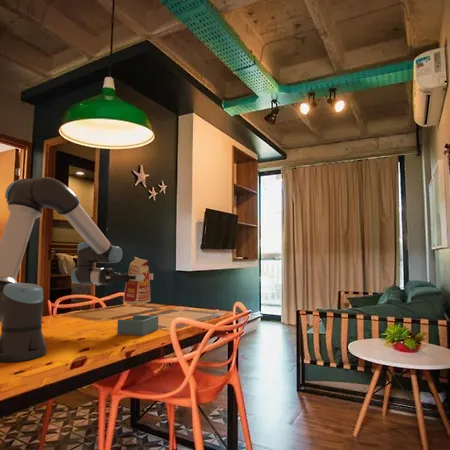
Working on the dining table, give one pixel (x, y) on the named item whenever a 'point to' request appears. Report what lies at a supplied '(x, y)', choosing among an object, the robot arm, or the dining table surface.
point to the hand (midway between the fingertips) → (148, 277)
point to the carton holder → (138, 325)
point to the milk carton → (138, 283)
